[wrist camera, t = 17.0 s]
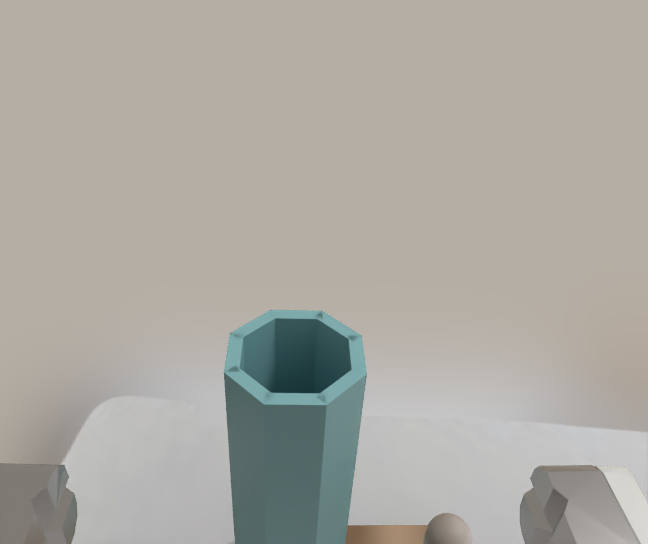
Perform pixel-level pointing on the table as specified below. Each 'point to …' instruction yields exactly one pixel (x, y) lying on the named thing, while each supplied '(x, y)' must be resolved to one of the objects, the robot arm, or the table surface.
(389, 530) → the pin board
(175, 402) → the table surface
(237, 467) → the sleeve
